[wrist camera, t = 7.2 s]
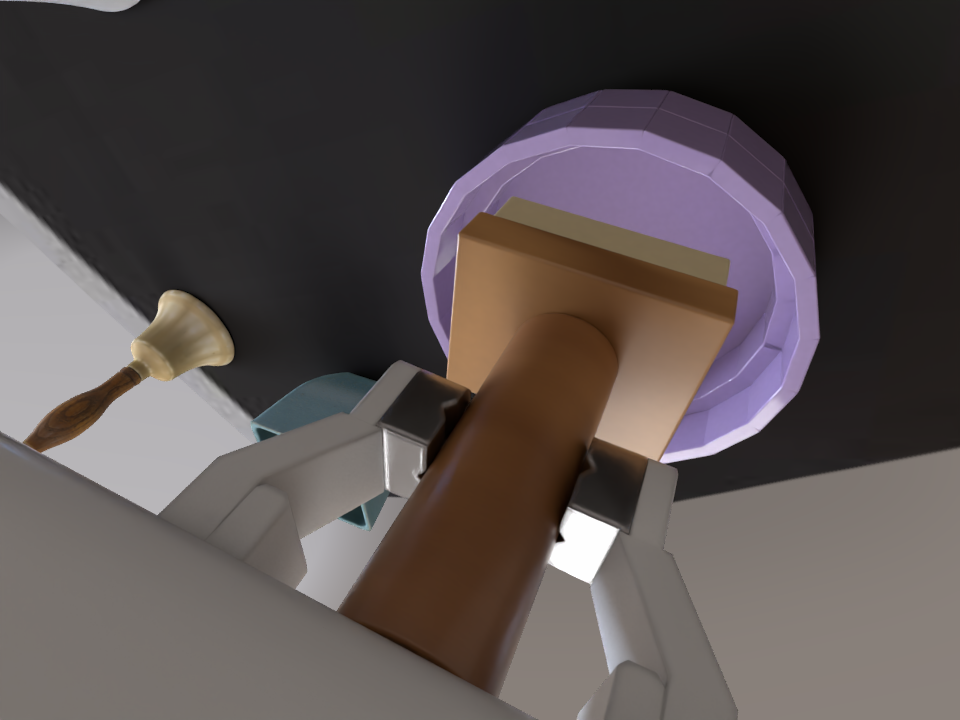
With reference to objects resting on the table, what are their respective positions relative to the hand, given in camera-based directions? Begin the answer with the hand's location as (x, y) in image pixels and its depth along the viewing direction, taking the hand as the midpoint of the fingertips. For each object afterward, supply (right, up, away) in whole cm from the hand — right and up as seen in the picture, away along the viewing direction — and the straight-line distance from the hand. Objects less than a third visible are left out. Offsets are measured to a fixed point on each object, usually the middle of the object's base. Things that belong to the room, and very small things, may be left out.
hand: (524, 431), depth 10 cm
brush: (+2, +3, +4) cm, 5 cm away
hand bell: (-27, +4, +40) cm, 49 cm away
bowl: (+7, +6, +18) cm, 21 cm away
